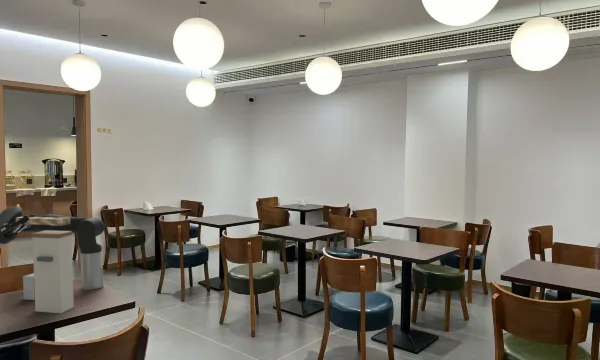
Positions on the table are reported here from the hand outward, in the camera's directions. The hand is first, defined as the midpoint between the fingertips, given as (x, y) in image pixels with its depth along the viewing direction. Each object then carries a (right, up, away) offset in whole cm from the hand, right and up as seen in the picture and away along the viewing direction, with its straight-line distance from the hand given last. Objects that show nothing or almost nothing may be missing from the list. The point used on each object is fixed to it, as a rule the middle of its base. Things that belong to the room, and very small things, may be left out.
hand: (31, 216), depth 177 cm
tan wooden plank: (+5, -3, -1) cm, 6 cm away
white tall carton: (+9, -38, +1) cm, 39 cm away
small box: (-8, -38, +16) cm, 42 cm away
